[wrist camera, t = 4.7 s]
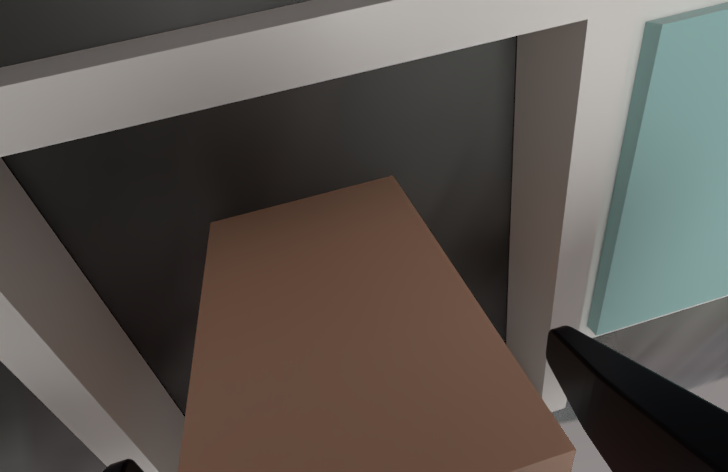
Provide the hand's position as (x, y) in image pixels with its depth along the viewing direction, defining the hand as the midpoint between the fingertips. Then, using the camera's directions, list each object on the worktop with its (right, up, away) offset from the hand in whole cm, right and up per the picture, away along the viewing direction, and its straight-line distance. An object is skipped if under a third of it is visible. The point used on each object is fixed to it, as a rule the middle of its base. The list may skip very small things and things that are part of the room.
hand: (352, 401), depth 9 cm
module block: (-1, +3, +4) cm, 5 cm away
